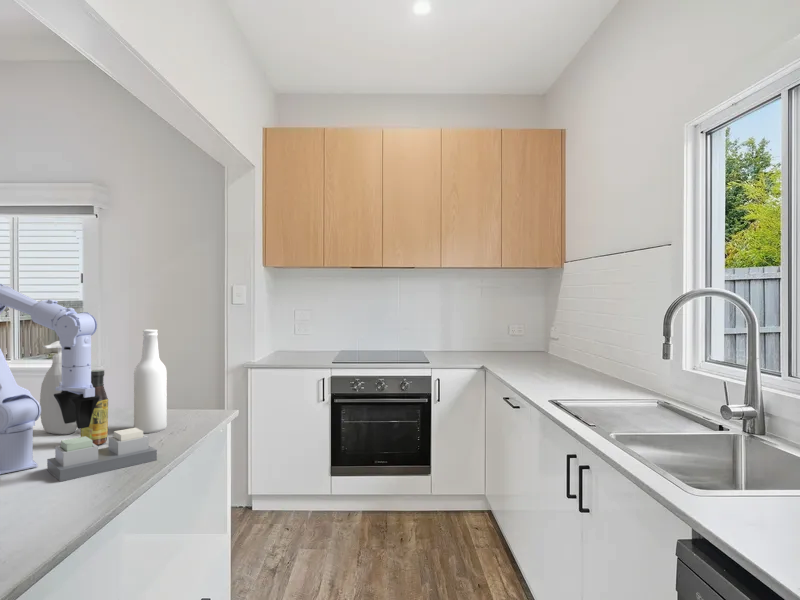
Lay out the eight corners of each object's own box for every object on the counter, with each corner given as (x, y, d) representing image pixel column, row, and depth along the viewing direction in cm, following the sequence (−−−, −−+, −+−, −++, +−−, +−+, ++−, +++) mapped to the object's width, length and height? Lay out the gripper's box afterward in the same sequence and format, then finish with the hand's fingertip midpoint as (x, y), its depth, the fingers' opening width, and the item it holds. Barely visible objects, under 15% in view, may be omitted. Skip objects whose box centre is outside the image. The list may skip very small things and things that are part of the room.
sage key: (61, 447, 116) (60, 440, 116) (85, 443, 119) (85, 436, 119) (67, 452, 112) (67, 444, 112) (92, 447, 116) (92, 440, 116)
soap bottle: (26, 434, 146) (25, 341, 146) (53, 427, 154) (53, 339, 154) (62, 439, 141) (61, 342, 141) (88, 432, 149) (88, 340, 149)
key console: (47, 469, 116) (47, 445, 116) (139, 450, 131) (139, 429, 131) (60, 481, 109) (60, 456, 109) (156, 460, 123) (156, 437, 123)
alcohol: (171, 429, 152) (171, 329, 151) (140, 435, 145) (140, 331, 145) (159, 424, 158) (159, 328, 157) (129, 430, 151) (129, 329, 151)
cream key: (113, 437, 124) (113, 431, 124) (135, 433, 127) (135, 427, 127) (121, 441, 120) (121, 435, 120) (143, 437, 124) (143, 431, 124)
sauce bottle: (95, 448, 133) (94, 372, 133) (74, 446, 134) (74, 371, 134) (113, 441, 140) (113, 369, 139) (94, 439, 141) (94, 368, 141)
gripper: (44, 365, 117) (44, 423, 117) (69, 370, 108) (69, 434, 108) (78, 361, 122) (78, 418, 122) (104, 366, 114) (105, 427, 114)
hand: (76, 425), depth 116 cm, fingers open, 7 cm apart
